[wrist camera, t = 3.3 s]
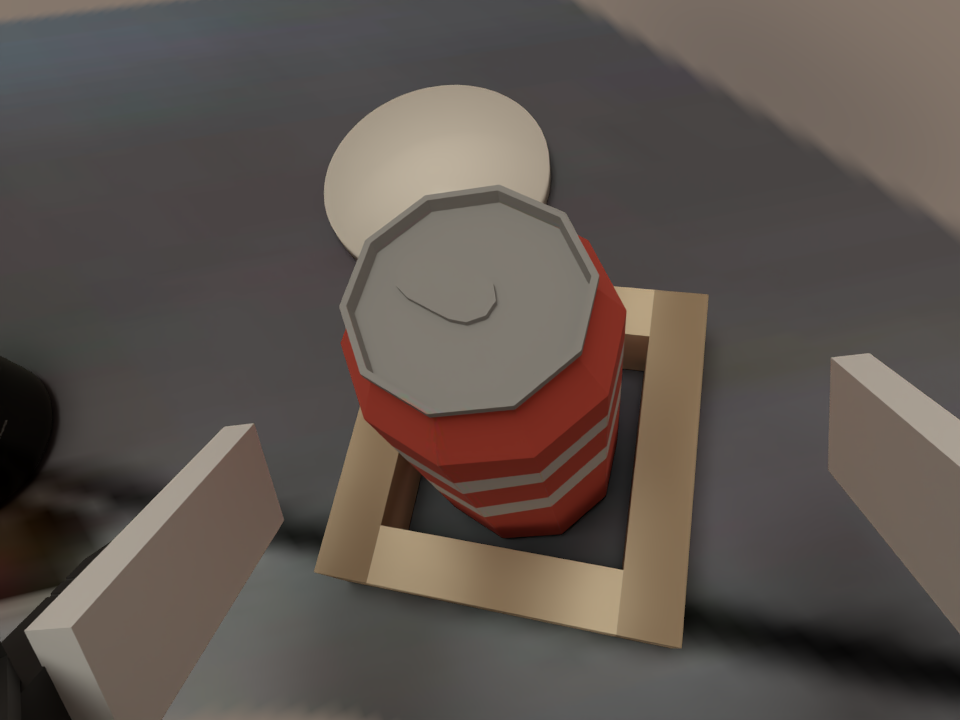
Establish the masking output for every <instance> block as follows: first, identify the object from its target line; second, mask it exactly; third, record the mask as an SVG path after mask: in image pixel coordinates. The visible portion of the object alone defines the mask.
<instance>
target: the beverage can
mask: <svg viewBox="0 0 960 720" xmlns="http://www.w3.org/2000/svg"><path fill="white" fill-rule="evenodd" d="M339 308H340V311H341V314H342V317H343V320H344V324H345V327H346V330H345V333H344V335H343V338H342V341H341V346H342V349H343V352H344V355H345V359H346V362H347V365H348V369H349V372H350V375H351V378H352V382H353V385H354V388H355V391H356V395H357V398H358V401H359V405H360V408H361V411H362V414H363V418H364V420H365V421H367V422H368V423H369V424H370V425H371V426H372V427H373V428H374V429H375V430H376V431H377V432H378V433H379V434H380V435H381V436H382V437H383V438H384V439H385V440H386V441H387V442H388V443H389V444H390V445H391V446H392V447H394V448H395V449H396V450H397V451H398V452H399V453H400V454H401V455H402V456H403V457H404V458H405V459H406V460H407V461H408V462H409V463H410V464H411V465H412V466H413V467H414V468H415V469H416V470H417V471H418V472H420V473H421V474H422V475H423V476H424V477H425V478H426V479H427V480H428V481H429V482H430V483H431V484H432V485H433V486H434V487H435V488H436V489H437V490H438V491H439V492H440V493H441V494H442V495H443V496H444V497H446V498H447V499H448V500H449V501H450V502H451V503H452V504H453V505H454V506H455V507H456V508H458V509H459V510H461V511H462V512H464V513H465V514H467V515H468V516H470V517H471V518H473V519H474V520H476V521H477V522H479V523H480V524H482V525H484V526H485V527H487V528H488V529H490V530H491V531H493V532H494V533H496V534H497V535H499V536H500V537H502V538H512V537H527V536H541V535H556V534H562V533H563V532H564V531H566V530H567V529H568V528H569V527H570V526H571V525H573V524H574V523H575V522H576V521H577V520H578V519H580V518H581V517H582V516H583V515H584V514H585V513H586V512H588V511H589V510H590V509H591V508H592V507H593V506H595V505H596V504H597V503H598V502H599V501H600V500H601V499H603V498H604V497H605V496H606V493H607V488H608V483H609V478H610V473H611V468H612V463H613V458H614V454H615V449H616V444H617V436H618V423H619V409H620V395H621V381H622V367H623V354H624V340H625V326H626V312H627V310H626V308H625V307H624V305H623V303H622V301H621V299H620V297H619V296H618V294H617V292H616V290H615V288H614V286H613V285H612V283H611V281H610V279H609V277H608V276H607V274H606V272H605V270H604V268H603V266H602V265H601V263H600V261H599V259H598V257H597V255H596V254H595V252H594V250H593V248H592V246H591V244H590V243H589V241H588V240H586V239H584V238H582V237H580V236H579V235H577V233H576V231H575V229H574V227H573V226H572V224H571V222H570V220H569V218H568V216H567V215H566V213H564V212H562V211H560V210H557V209H555V208H553V207H550V206H548V205H546V204H544V203H541V202H539V201H537V200H534V199H532V198H530V197H527V196H525V195H523V194H520V193H518V192H516V191H513V190H511V189H509V188H506V187H504V186H502V185H493V186H486V187H479V188H472V189H465V190H458V191H451V192H444V193H437V194H430V195H425V196H423V197H422V198H421V199H419V200H418V201H417V202H415V203H414V204H413V205H411V206H410V207H409V208H407V209H406V210H405V211H403V212H402V213H401V214H399V215H398V216H397V217H395V218H394V219H393V220H391V221H390V222H389V223H387V224H386V225H385V226H383V227H382V228H381V229H379V230H378V231H377V232H375V233H374V234H373V235H371V236H370V237H369V238H367V239H366V240H365V242H364V244H363V247H362V250H361V252H360V255H359V257H358V260H357V262H356V265H355V268H354V270H353V273H352V275H351V278H350V280H349V283H348V285H347V288H346V291H345V293H344V296H343V298H342V301H341V303H340V306H339Z"/></svg>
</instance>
